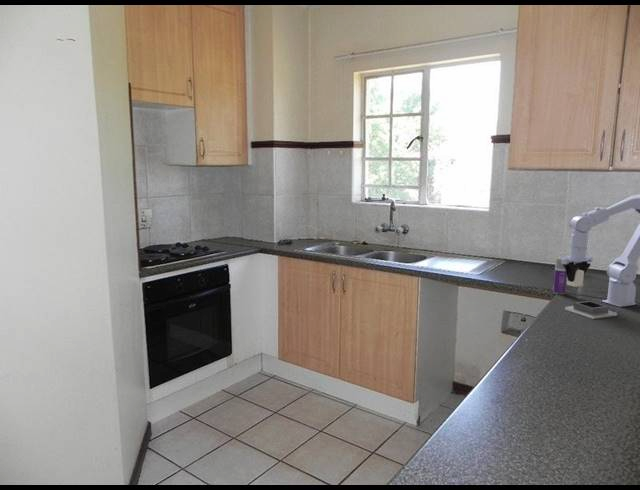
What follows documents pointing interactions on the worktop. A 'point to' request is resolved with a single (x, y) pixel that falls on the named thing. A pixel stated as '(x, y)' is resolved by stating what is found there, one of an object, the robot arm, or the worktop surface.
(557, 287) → the container
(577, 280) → the plug
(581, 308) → the socket plate
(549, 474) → the worktop surface
